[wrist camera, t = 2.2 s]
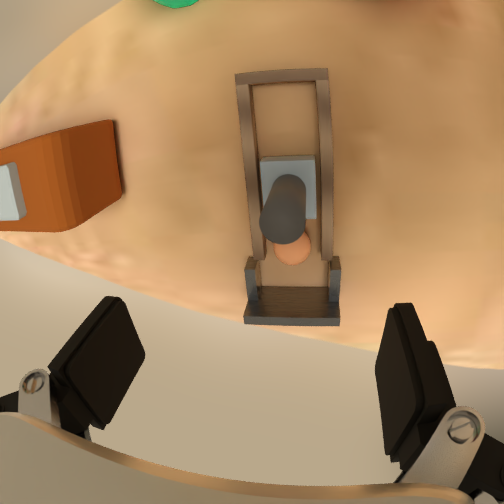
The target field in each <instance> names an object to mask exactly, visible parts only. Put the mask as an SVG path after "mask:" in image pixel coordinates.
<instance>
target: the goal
mask: <svg viewBox="0 0 504 504" xmlns="http://www.w3.org/2000/svg"><path fill="white" fill-rule="evenodd" d="M244 271H245V279H246V287H247V295H248V302H247V306H246V309H245V312H244V316H243V317H244V324H254V325H283V326H340V309H339V293H340V280H341V266H340V259H339V257H332V260H329V272H328V287H262V285H261V274H260V263H259V260H254V257H249V258H248V261H247V264H246V267H245V269H244Z"/></svg>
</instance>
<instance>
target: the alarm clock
mask: <svg viewBox="0 0 504 504" xmlns="http://www.w3.org/2000/svg"><path fill="white" fill-rule="evenodd" d="M121 196H122V191H121V185H120V178H119V171H118V164H117V157H116V149H115V140H114V131H113V122H112V120H103V121H98V122H93V123H89V124H84V125H80V126H76V127H72V128H68V129H64V130H60V131H56V132H52V133H49V134H45V135H42V136H39V137H36V138H32V139H29V140H26V141H23V142H20V143H17V144H14V145H12V146H9V147H6V148H3V149H1V150H0V231H26V232H63V231H66V230H70V229H72V228H75V227H77V226H79V225H80V224H82V223H84V222H85V221H87V220H88V219H90V218H91V217H93V216H94V215H95V214H97V213H99V212H100V211H102V210H103V209H105V208H106V207H108V206H109V205H111V204H112V203H114V202H115V201H117V200H119V199H120V198H121Z"/></svg>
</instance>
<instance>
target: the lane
mask: <svg viewBox="0 0 504 504" xmlns="http://www.w3.org/2000/svg"><path fill="white" fill-rule="evenodd" d="M235 82H236V92H237V101H238V111H239V121H240V130H241V140H242V150H243V159H244V169H245V179H246V188H247V198H248V208H249V218H250V227H251V237H252V247H253V257H254V260H264V259H265V256H266V240H265V236H264V235H263V234H262V232H261V230H260V227H259V218H260V215H261V212H262V210H263V204H262V192H261V181H260V170H259V159H258V148H257V137H256V126H255V116H254V105H253V95H252V85H260V84H273V83H290V82H315V83H316V95H317V109H318V125H319V144H320V170H321V259H322V260H332V252H333V146H332V123H331V106H330V91H329V79H328V68H314V69H287V70H271V71H260V72H250V73H241V74H235Z"/></svg>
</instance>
